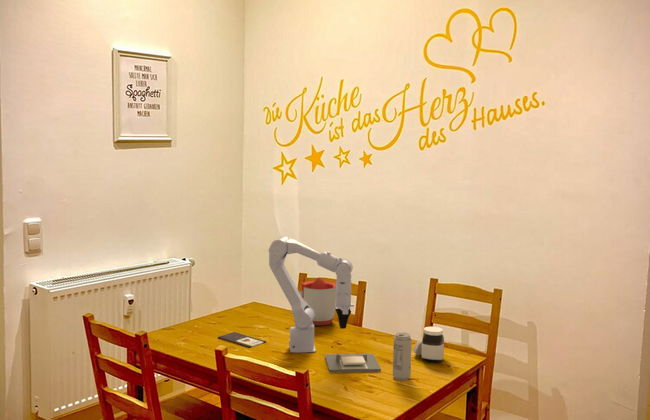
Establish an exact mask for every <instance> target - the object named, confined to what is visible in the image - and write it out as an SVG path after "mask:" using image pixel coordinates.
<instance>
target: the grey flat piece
mask: <svg viewBox="0 0 650 420" xmlns="http://www.w3.org/2000/svg"><path fill="white" fill-rule="evenodd" d="M346 356H363V358H364V360H365V362H366V364H364V365H343V363H342V360H341V357H346ZM324 359H325V362H326V366H327V369H328V373H335V374H336V373H380V372H381V371H382V368H381V366H380V365H379V362H378V361H377V358H376V357H375V354H374V353H350V354H349V353H341V354H340V353H335V354H333V353H329V354H326V353H325V354H324Z"/></svg>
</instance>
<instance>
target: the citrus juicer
mask: <svg viewBox="0 0 650 420" xmlns="http://www.w3.org/2000/svg"><path fill="white" fill-rule="evenodd" d="M299 293H300V295H301V296H302V298H303V300H304V301H306V302H307V303H308V305H309V306H310V307H311V308H312V309H313V310H314V311H315V318H314V320H313V324H314V326H329V325H330V324H332V322H333V320H334V317H335V314H336V310H335V309H337V307H335V303H336V282H333V281H328V280H323V279H322V278H321V277H318V278H316V279H315V280H308V281H304V282H302V283H301V290H300V291H299Z"/></svg>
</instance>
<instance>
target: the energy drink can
mask: <svg viewBox="0 0 650 420" xmlns="http://www.w3.org/2000/svg"><path fill="white" fill-rule="evenodd" d="M412 341H413V339H412V338H411V334H410V333H407V332H396V333H395V336H394V338H393V349H392V350H393V351H392V353H393V354H392V376H393V377H394V379H395V380H397V381H403V382H404V381H408V380H409V379H410V377H411V372H412V371H411V369H412V368H411V367H412Z"/></svg>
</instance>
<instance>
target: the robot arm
mask: <svg viewBox="0 0 650 420" xmlns="http://www.w3.org/2000/svg"><path fill="white" fill-rule="evenodd" d="M268 254H269V255H268V265H269V269H270V270H271V273H272V274H273V276H274V277H275V279H276V281H277V283H278V285H279V286H280V289H281V290H282V292H283V294H284V295H285V298H286V299H287V301H288V303H289V305H290V306H291V313H292V315H293V319H294V320H293V321H294V326H289V341H288V347H289V350H290V351H289V352H290V353H316V352H317V351H316V347H315V325H314V324H313V320H314V318H315V311H314V310H313V309H312V308H311V307H310V306H309V305H308V303H307V302H306V301H304V300H303V298H302V296H301V295H300V293H299V292H300V291H299V289H298V287H297V285H296V284H295V282H294V280H293V278H292V277H291V275H290V273H289V271H288V269H287V267H286V265H285V260H286V258H287V256H288V255H291V254H299V255H301V256H302V257H303V256H304V257H305V258H309V259H311V260H313V261H316V263H317V266H319V267H321V268H323V269H325V270H327V271H330V272H332V273H334V274H335V275H336V280H335V283H336V303H335V307H336V309H335V314H337V319H338V327H339V328H340V329H347V326H348V322H349V318H350V316H351V313H352V310H351V308H352V307H355V304H354V302H353V303H352V271H353V269H354V268H353V267H354V266H353V264H352V262H351V261H350V260H348V259H347V258H345V259H343V257H341V256H339V257H338V256H336V255H333V254H332V252H331V251H322V252H319V251H318V250H315V249H313V248H311V247H309V246H307V245H305V244H304V243H302V242H299V241H298V240H296V239H294V238H290V237H288V236H285V235H283V236H280V237H278V238H277V239H275V240H273V241H272V242H271V244H270V246H269V248H268Z"/></svg>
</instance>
